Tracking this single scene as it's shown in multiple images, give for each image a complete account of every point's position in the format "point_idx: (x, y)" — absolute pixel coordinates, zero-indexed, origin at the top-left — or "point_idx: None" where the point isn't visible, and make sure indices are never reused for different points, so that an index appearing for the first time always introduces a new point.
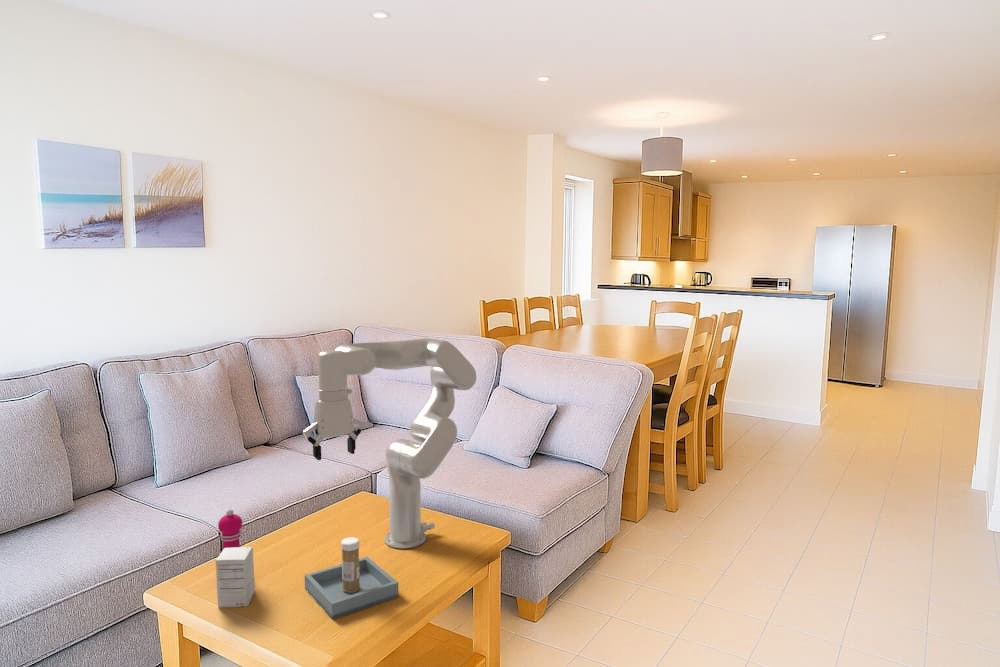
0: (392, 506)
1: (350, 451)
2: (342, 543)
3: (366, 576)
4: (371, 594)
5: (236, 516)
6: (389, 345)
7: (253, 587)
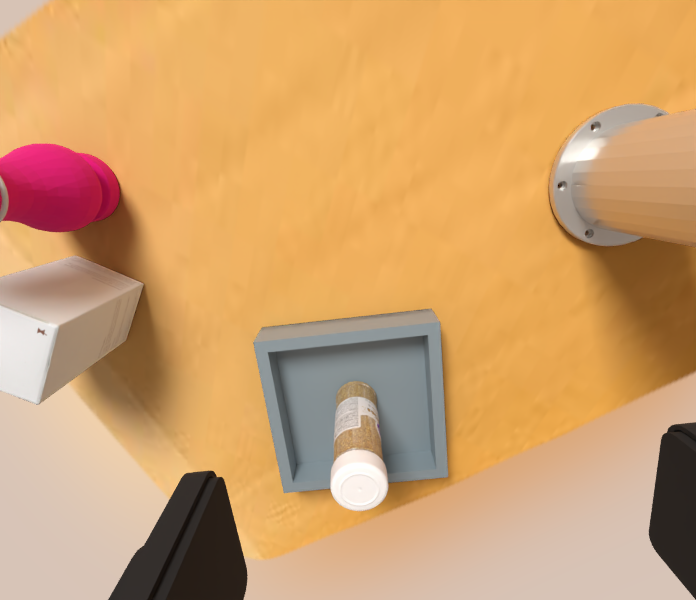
0: (660, 197)
1: (670, 523)
2: (331, 491)
3: (410, 358)
4: None
5: None
6: None
7: (131, 300)
